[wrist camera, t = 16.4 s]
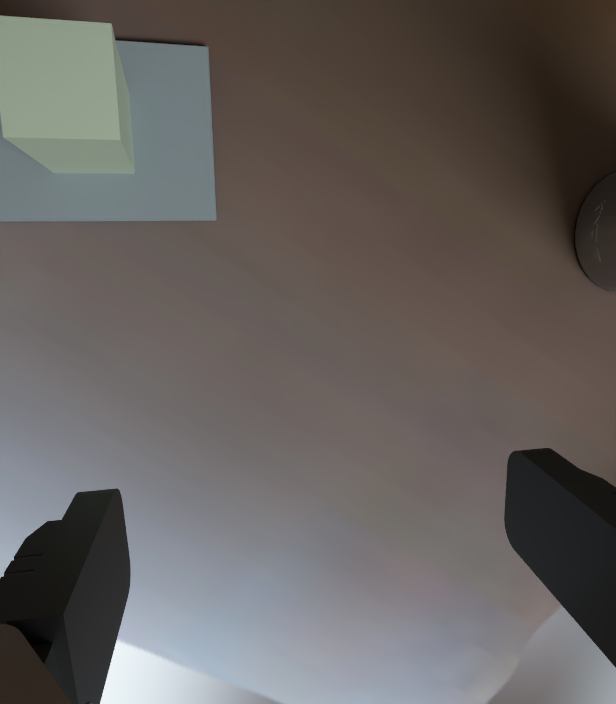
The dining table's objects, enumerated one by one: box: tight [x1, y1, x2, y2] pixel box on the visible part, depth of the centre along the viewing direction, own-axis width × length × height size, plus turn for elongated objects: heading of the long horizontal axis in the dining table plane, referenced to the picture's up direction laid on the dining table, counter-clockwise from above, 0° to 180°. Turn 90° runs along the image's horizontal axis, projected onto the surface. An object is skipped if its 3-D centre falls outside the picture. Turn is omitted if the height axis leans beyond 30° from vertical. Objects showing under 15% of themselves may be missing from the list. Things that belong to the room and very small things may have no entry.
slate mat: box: [0, 41, 216, 222], centre depth 32 cm, size 14×10×1 cm
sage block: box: [0, 16, 135, 174], centre depth 27 cm, size 4×4×10 cm
